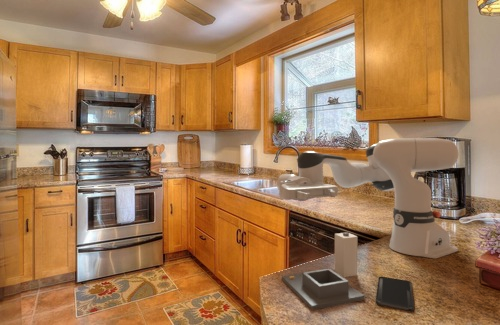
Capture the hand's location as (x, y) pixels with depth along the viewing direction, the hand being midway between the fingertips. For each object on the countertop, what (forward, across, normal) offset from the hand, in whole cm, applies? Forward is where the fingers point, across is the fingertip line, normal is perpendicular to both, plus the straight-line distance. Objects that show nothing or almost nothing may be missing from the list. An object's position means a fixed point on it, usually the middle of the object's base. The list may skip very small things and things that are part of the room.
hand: (321, 195), depth 96 cm
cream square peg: (+14, 0, -20) cm, 24 cm away
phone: (+28, -4, -20) cm, 34 cm away
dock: (+20, +12, -20) cm, 30 cm away
